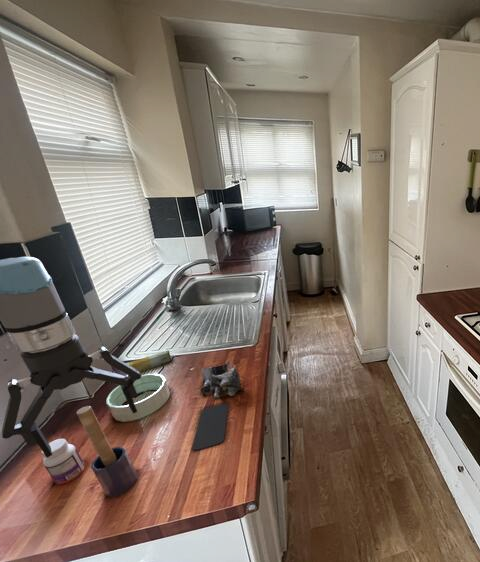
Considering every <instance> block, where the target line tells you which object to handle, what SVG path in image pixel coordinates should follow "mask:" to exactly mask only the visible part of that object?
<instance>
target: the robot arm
mask: <svg viewBox="0 0 480 562" xmlns="http://www.w3.org/2000/svg"><path fill="white" fill-rule="evenodd" d="M0 322H1V324H2V326H3V328H4V329H5V331H6V333H7V334H8V336H9V338H10V340H11V342H12V343H13V345H14V347H15V348H16V350H17V351H18V352H20V357H21V359H22V360H23V361H22V362H24V364H25V366H26V368H27V369H28V371H29V373H30V375H29V376H28V377H24V378H21V379H16V378H12V379H9V380H8V381H7V392H8V394H9V398H8V402H7V406H6V411H5V414H4V419H3V423H2V427H1V435H2V436H1V438H2V439H5V440H6V439H9V438H11V437H13V436H17V435H18V436H21V438H22V439H23V440H24V442H25V443H26V444H27V446H28V447H33V446H35V445H38V446H39V448H40V449H41V452H42V451H43V453H44V454H45V456H46V457H49V456H51V455H52V451H51V447H50V445H49V443H50V442H48V440H47V439H46V437H45V435H44V433H43V432H42V431H41V429H40V427H39V426H38V424H37V422H36V420H37V418H38V417H39V416H40V414H41V412H42V410H43V408H44V407H45V405H46V403H47V401H48V400H49V398H51V396H52V395H53V392H54V391H57V390H59V391H62V390H64V389H66V388H68V387H70V386H71V385H76V384H79V383H81V382H82V381H83V380H84V379H85V378H86V379H90V380H99V381H102V382H106V383H110V384H115V385H118V386H119V385H120V386H121V389H122V391H123V393H124V395H125V398H126V400H127V401H126V403H127V405H129V406H130V409H131V410H132V412H133V414H134V413H136V412H137V409H136V407H135V405H134V403H135V402H134V400H133V398H135V397H137V396H138V394H137V392H136V390H135V388H134V384H133V383H134V382H135V381H136V380H138V379H140V378H141V375H142V374H141V372H138V370H136V369H134V368H133V367H131V366H129V363H128V364H127V363H126V362H125V361H123V360H121V359H119V358H117V357H116V356H115V355H113V354H111V353H110V351H109V350H108V348H107V347H106V346H104V345H103V346H100V347H99V348H98V350H96V351H94V352H92V353H90V354H89V353H87V352H86V350H85V348H84V346H83V343H82V342H81V339H80V337H79V335H78V334H76V329H75V327H74V325H73V323H72V321H71V318H70V317H69V315H68V313H67V311H66V309H65V306H64V304H63V302H62V300H61V297H60V295H59V294H58V292H57V289H56V287H55V284H54V282H53V278H52V276H51V275H50V274H49V273H48V271H47V270H46V268H45V266H44V264H43V263H42V261H41V260H40V259H39V258H36V257H33V256H19V257H9V258H3V259H0ZM94 360H95V361H98V362H106V364H108V365H109V366H111V367H114V368H115V369H116V370H119V371H120V372H122V373H124V374H125V375H123V374H119V373H116V372H111V371H108V370H104V369H100V368H97V367H94V366H92V364H93V361H94ZM30 385H35V386H38V387H39V388H38V391H37V393H36V394H35V396H34V397H33V399H32V402H31V403H30V405H29V407H28V408H27V410H26V411H25V414H24V415H23V416H22V418H21V420H20V422H18V423H17V418H18V414H19V412H20V411H19V410H20V406H21V402H22V393H25V392H26V391H27V389H28V386H30Z"/></svg>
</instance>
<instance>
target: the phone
mask: <svg viewBox="0 0 480 562" xmlns="http://www.w3.org/2000/svg"><path fill="white" fill-rule="evenodd" d="M228 410H229V404H228V403H221V404H220V403H219V404H216V405H213V406H208V407H206V408H203V409H202V410H201V411H200V414H199V419H198V424H197V427H196V431H195V437H194V440H193V446H192V450H193V451H200V450H204V449H207V448H211V447H214V446H217V445H220V444H222V443H223V442H224V441H225V437H226V429H227V428H226V427H227V420H228Z"/></svg>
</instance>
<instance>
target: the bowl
mask: <svg viewBox="0 0 480 562" xmlns="http://www.w3.org/2000/svg"><path fill="white" fill-rule="evenodd" d="M133 384H134V388H135V390H136V392H137V395H138V394H141V393H143V392H147V391H150V390H156V391H155V392H153V393H151V394H150V395H149V396H147V397H145V398H144V399H141V400H139V401H137V402H134V405H135V407H136V409H137V412H136V413H134V414H133V412H132V410H131V409H130V406H129V404H127V405H124V403H125V402H127V400H126V398H125V395H124V393H123V391H122V389H121V386H120V385H118V386H117V387H115V388H114V389H112V391H111V392H110V393H109V394H108V395H107V396H106V405H107V408H108V410H109V411H110V413H111V416H112V417H113V419H115V421H118V422H122V423H124V422H133V421H136V420H140V419H143V418H145V417H147V416H150V415H152V414H153V413H155V412H156V411H158V410H159V409H160V408H161V407H163V406H164V405H165V404H166V403H167V401H168V400H169V398H170V395H171V391H170V389H169V386H168V383H167V380H166V378H165V376H164V375H162V374H161V373H146V374H141V378H140V379H138V380H136V381H135V382H134V383H133Z"/></svg>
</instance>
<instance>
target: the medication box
mask: <svg viewBox="0 0 480 562" xmlns="http://www.w3.org/2000/svg"><path fill="white" fill-rule="evenodd" d="M172 360H173V359H172V355H171V353H170V350H165V351H164V350H163V351H161V352H159V353H155V354H152V355H149V356H146V357H143V358H140V359H137V360H133V361H131V362H129V363H128V365H129V366H131V367H133V368H134V369H136V370H138V372H139V373H141V372H143V371H147V370H149V369H152V368H156V367H158V366H161V365H163V364H167V363H169V362H172Z"/></svg>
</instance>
